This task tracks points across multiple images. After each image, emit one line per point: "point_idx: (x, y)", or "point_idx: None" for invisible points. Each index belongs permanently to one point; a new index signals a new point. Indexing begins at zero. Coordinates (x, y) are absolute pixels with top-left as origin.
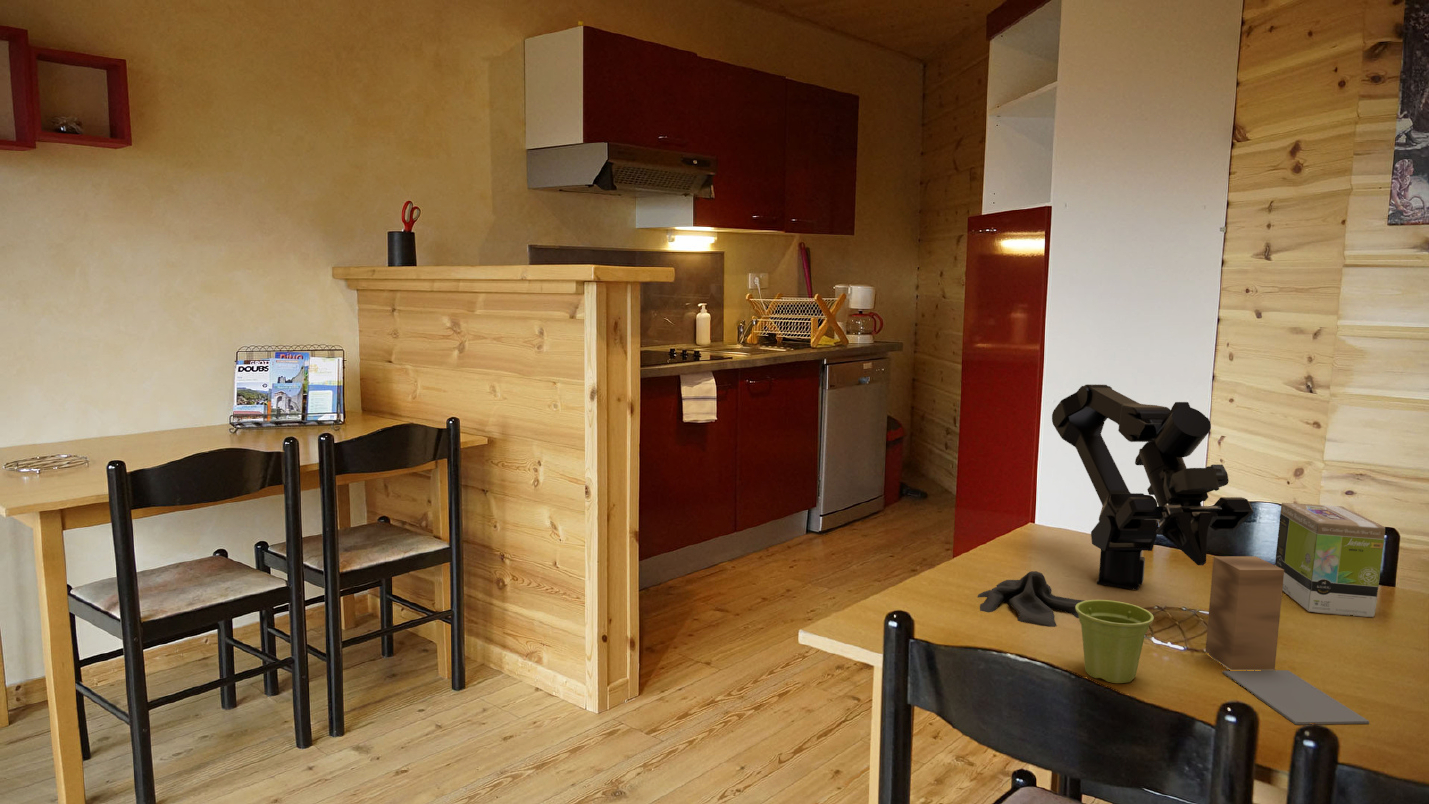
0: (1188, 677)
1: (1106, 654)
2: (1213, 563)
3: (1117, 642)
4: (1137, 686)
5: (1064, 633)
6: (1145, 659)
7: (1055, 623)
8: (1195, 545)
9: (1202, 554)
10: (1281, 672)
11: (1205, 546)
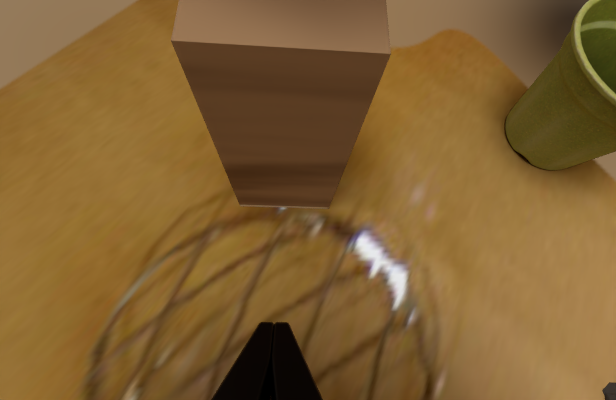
0: (414, 118)
1: (602, 72)
2: (380, 75)
3: (612, 42)
4: (509, 96)
5: (591, 335)
6: (459, 190)
7: (610, 396)
8: (295, 393)
9: (267, 347)
10: None
11: (227, 386)
